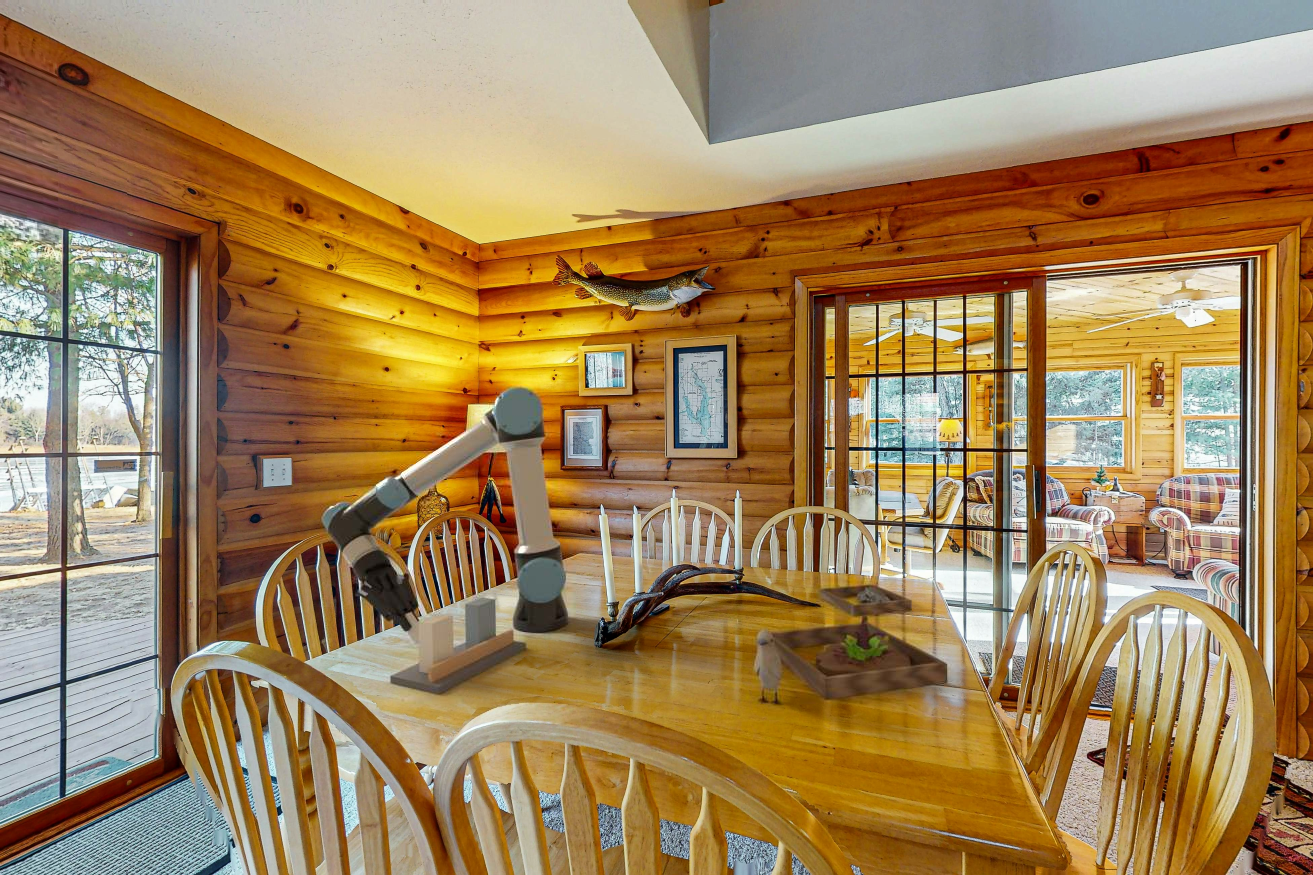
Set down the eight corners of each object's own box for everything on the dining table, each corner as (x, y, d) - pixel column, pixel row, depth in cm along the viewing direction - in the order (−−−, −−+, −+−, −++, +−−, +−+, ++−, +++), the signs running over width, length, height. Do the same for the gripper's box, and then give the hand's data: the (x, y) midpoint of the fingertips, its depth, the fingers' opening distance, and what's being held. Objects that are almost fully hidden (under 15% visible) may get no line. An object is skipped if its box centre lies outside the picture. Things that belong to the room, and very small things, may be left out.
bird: (748, 715, 110) (747, 634, 110) (763, 686, 122) (762, 613, 122) (775, 720, 108) (774, 637, 108) (787, 689, 121) (786, 616, 120)
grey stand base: (390, 682, 127) (390, 661, 127) (482, 640, 152) (481, 623, 152) (439, 694, 121) (438, 672, 121) (526, 648, 146) (525, 630, 146)
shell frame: (872, 593, 191) (872, 584, 191) (911, 610, 172) (911, 600, 172) (818, 598, 186) (818, 588, 186) (853, 616, 168) (853, 605, 167)
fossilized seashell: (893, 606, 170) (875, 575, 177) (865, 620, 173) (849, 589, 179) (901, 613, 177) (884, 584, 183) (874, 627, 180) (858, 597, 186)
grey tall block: (465, 649, 141) (465, 603, 141) (483, 641, 147) (482, 597, 147) (478, 652, 140) (478, 605, 140) (496, 643, 145) (495, 599, 145)
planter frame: (867, 637, 150) (867, 622, 150) (947, 682, 123) (947, 663, 123) (764, 649, 143) (764, 632, 143) (825, 699, 116) (825, 679, 116)
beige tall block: (419, 671, 129) (418, 620, 129) (440, 661, 134) (439, 613, 134) (432, 674, 127) (432, 623, 127) (453, 664, 132) (452, 615, 132)
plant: (920, 662, 135) (919, 613, 135) (904, 695, 118) (904, 638, 118) (831, 646, 145) (831, 600, 145) (806, 674, 129) (805, 623, 129)
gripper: (383, 563, 147) (434, 640, 139) (334, 575, 135) (388, 659, 128) (398, 543, 144) (451, 620, 137) (350, 554, 132) (405, 638, 125)
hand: (421, 639), depth 132 cm, fingers closed
